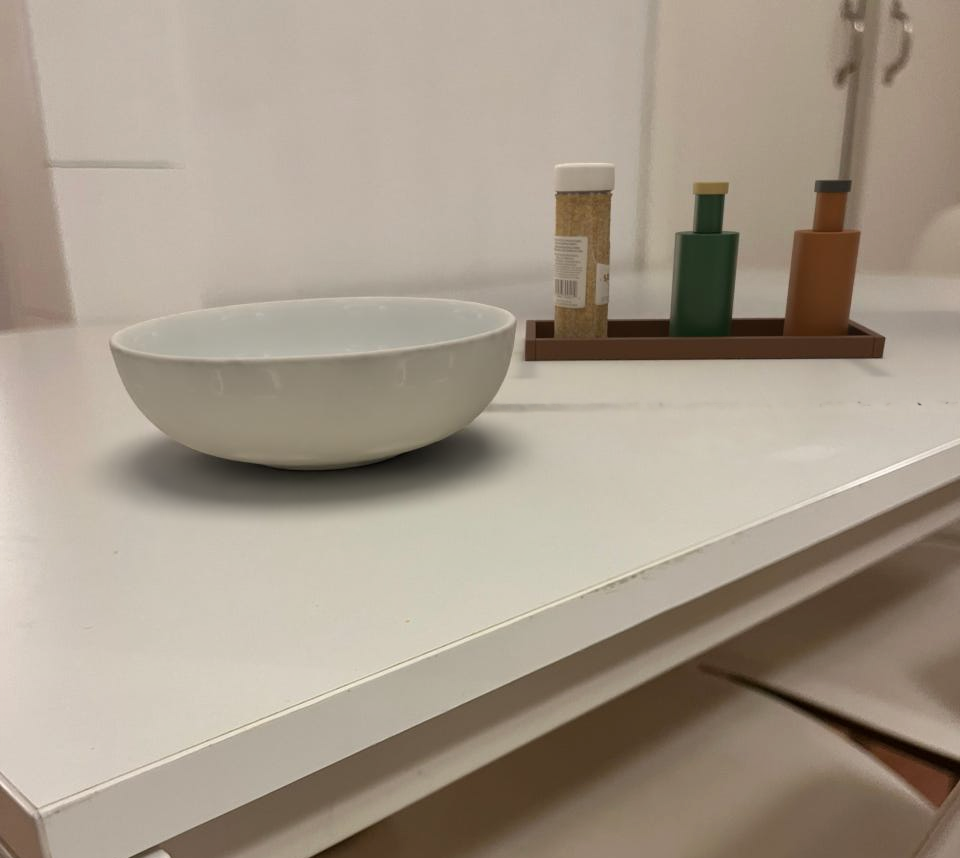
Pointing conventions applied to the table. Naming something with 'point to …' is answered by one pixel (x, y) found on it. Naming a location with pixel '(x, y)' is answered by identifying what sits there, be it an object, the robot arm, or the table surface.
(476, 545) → the table surface
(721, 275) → the green bottle
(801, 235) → the amber bottle
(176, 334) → the serving bowl
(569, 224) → the sprinkles bottle
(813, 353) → the tray
